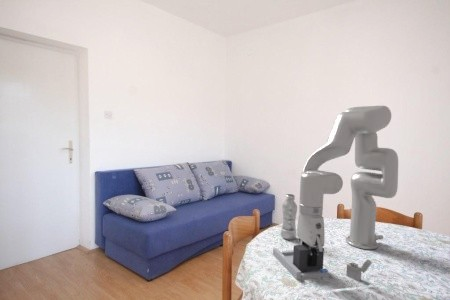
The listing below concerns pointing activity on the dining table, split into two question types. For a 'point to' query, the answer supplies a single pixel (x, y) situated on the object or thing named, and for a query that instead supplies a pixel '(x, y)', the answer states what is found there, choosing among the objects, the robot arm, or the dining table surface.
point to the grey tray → (287, 262)
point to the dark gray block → (306, 258)
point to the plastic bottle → (289, 218)
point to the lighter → (357, 270)
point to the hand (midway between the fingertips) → (308, 262)
